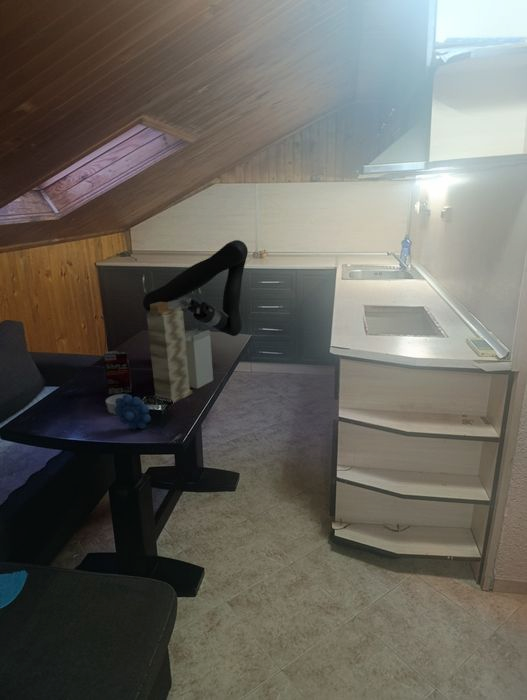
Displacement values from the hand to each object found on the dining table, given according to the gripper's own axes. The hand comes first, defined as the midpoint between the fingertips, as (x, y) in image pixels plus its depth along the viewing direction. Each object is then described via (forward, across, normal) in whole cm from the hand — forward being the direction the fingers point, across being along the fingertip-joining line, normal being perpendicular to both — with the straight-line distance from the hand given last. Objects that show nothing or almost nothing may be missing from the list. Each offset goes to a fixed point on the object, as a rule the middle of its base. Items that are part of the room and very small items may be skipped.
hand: (182, 300), depth 173 cm
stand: (-9, 0, -34) cm, 36 cm away
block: (+3, 0, -5) cm, 6 cm away
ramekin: (+6, +8, -44) cm, 45 cm away
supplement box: (-4, +22, -38) cm, 44 cm away
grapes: (+14, -8, -48) cm, 51 cm away
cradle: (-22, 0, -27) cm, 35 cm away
